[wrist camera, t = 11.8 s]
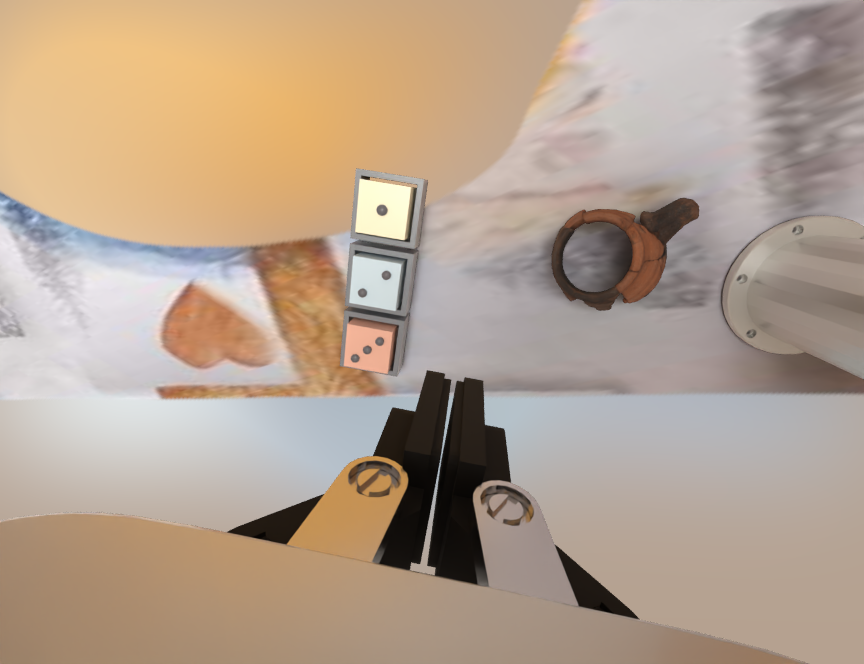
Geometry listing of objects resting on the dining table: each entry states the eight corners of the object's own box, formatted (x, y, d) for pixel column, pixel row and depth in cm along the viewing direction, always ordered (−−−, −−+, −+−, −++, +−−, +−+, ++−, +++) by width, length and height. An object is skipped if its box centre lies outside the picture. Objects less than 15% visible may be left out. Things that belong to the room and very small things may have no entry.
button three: (400, 319, 41) (392, 333, 37) (395, 358, 43) (386, 375, 39) (359, 312, 42) (346, 324, 37) (355, 351, 43) (342, 367, 39)
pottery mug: (608, 323, 40) (586, 335, 34) (550, 253, 43) (519, 250, 36) (729, 239, 34) (731, 233, 27) (653, 162, 36) (637, 139, 30)
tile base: (409, 312, 41) (404, 321, 39) (402, 364, 43) (397, 376, 41) (353, 302, 42) (344, 310, 39) (348, 354, 44) (339, 365, 41)
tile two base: (418, 250, 39) (413, 254, 36) (410, 308, 41) (405, 316, 38) (359, 240, 40) (350, 243, 37) (353, 298, 42) (344, 305, 39)
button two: (408, 257, 39) (400, 264, 35) (402, 300, 41) (394, 311, 37) (365, 250, 39) (352, 256, 35) (361, 293, 41) (348, 303, 37)
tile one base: (428, 180, 37) (424, 179, 34) (419, 245, 39) (414, 249, 36) (365, 170, 37) (356, 168, 35) (359, 235, 39) (350, 238, 37)
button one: (417, 188, 37) (410, 187, 33) (411, 236, 38) (403, 240, 34) (371, 180, 37) (358, 178, 33) (367, 228, 39) (354, 232, 35)
